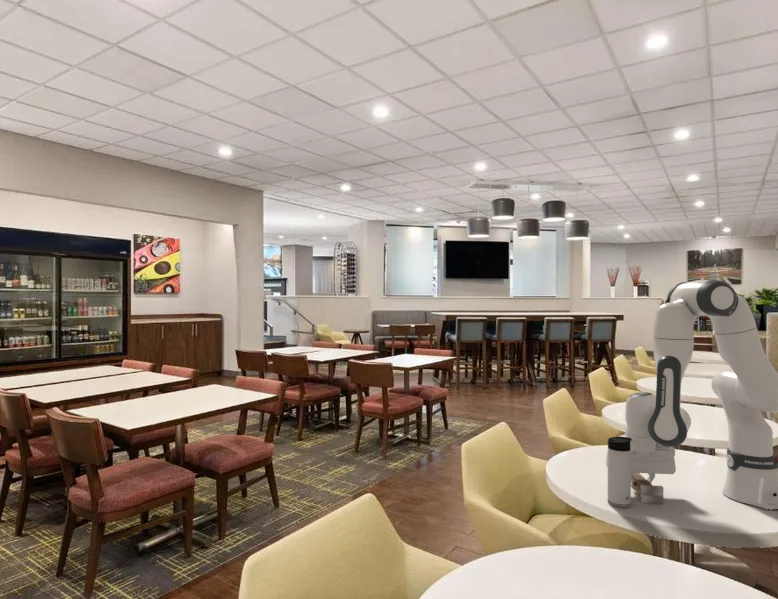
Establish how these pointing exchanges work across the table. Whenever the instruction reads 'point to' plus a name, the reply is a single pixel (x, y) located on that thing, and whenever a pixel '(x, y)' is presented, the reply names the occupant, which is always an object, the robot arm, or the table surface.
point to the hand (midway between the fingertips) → (640, 486)
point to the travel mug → (619, 472)
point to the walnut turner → (647, 490)
